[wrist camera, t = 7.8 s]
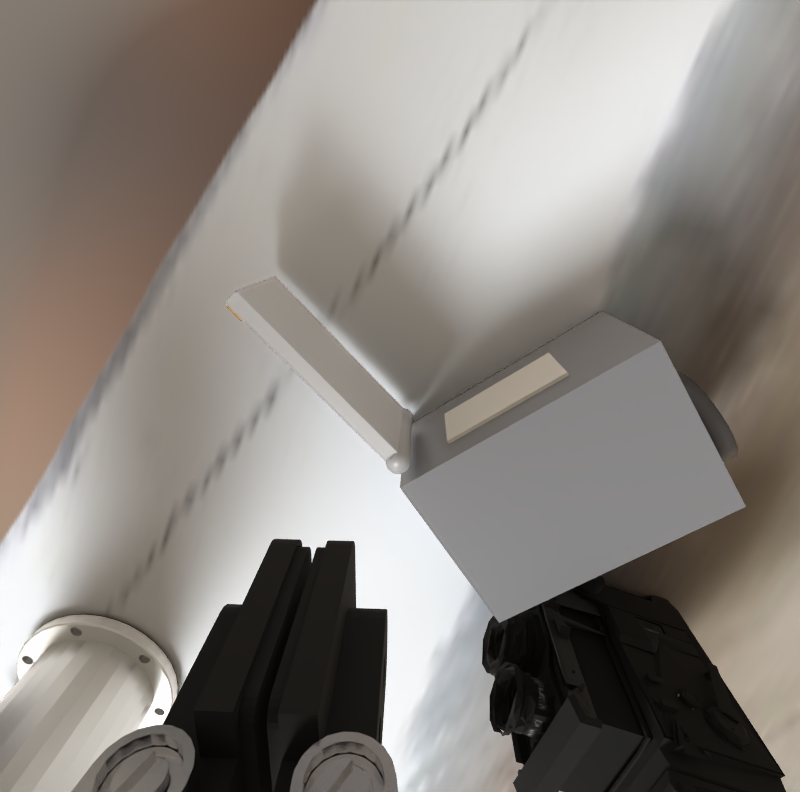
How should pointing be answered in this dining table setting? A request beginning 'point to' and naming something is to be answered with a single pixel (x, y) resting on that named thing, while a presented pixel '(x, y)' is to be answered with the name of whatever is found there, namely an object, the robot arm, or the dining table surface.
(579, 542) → the grey device box
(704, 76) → the dining table surface
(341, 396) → the side door
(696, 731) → the camera
